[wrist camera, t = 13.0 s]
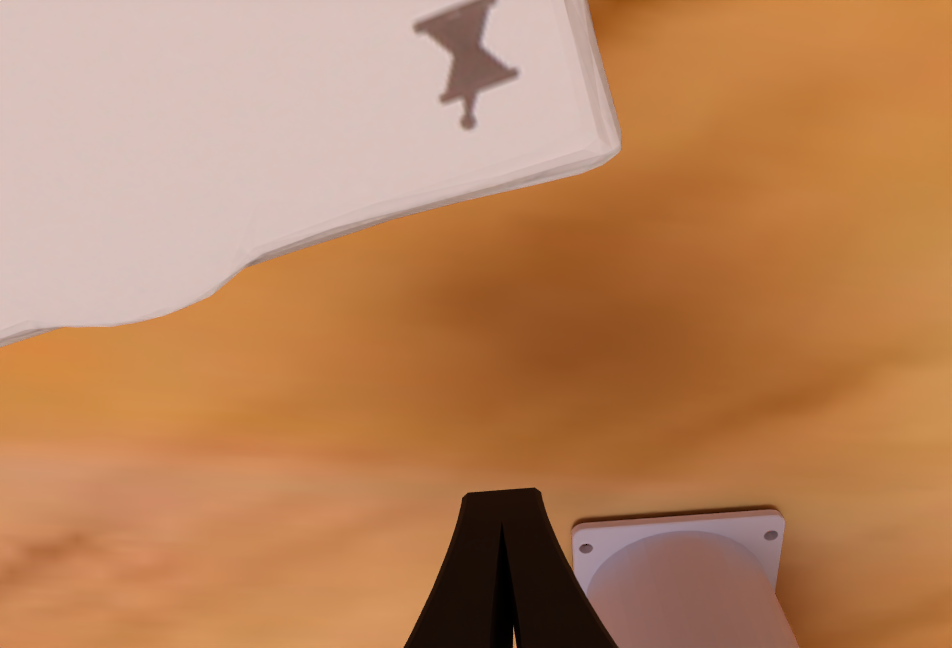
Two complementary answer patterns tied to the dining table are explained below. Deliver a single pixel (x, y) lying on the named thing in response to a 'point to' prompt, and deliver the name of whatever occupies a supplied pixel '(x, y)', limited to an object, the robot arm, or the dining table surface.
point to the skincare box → (264, 134)
